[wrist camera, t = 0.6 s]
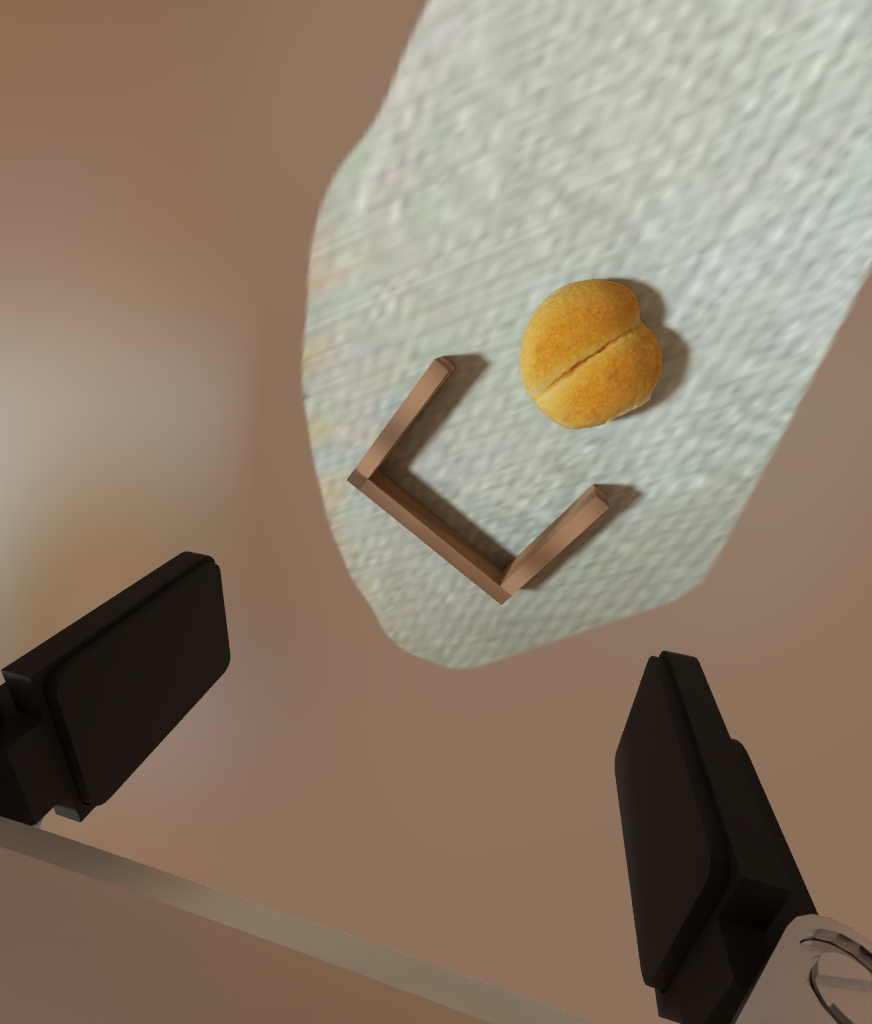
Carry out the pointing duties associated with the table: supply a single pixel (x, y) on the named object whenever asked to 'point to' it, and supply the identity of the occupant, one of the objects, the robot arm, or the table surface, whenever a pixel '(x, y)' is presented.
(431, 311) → the table surface
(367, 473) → the frame
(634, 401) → the bread roll
